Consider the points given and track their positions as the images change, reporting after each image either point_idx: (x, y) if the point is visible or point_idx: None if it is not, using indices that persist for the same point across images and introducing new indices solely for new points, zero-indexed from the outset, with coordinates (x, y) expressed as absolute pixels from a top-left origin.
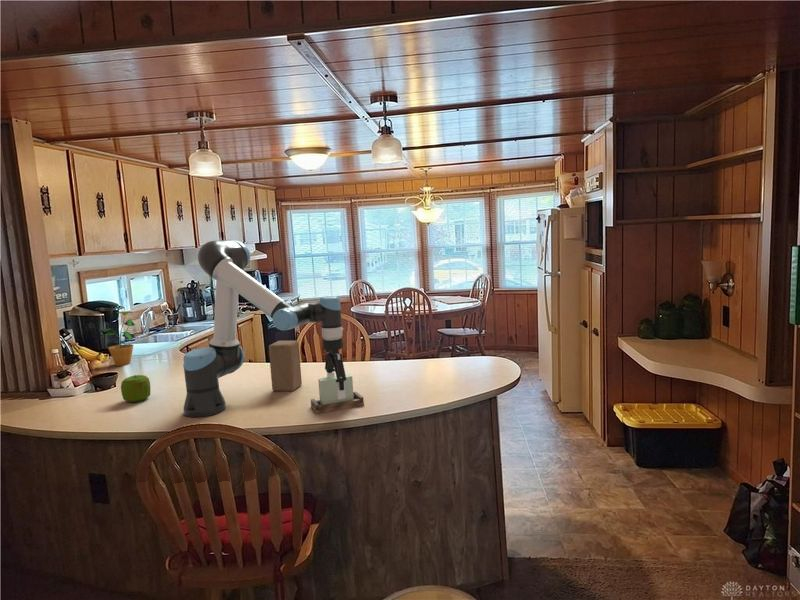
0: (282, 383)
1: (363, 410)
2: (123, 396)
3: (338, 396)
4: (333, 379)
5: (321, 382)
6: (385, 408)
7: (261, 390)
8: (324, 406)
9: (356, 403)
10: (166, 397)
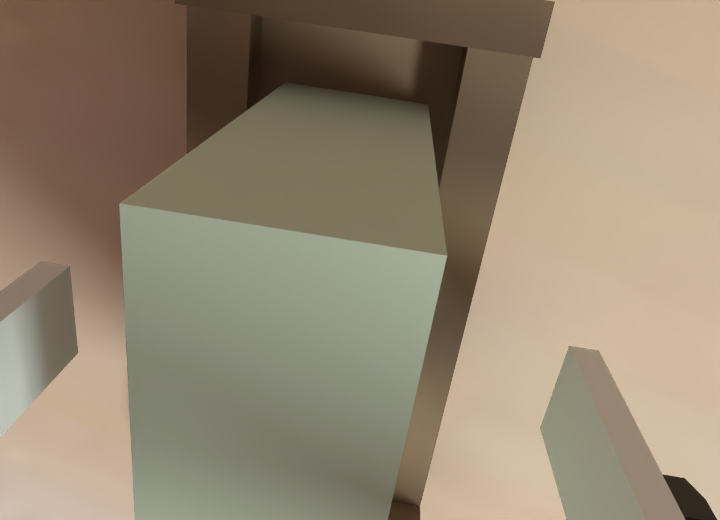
0: None
1: (61, 383)
2: None
3: (16, 283)
4: (133, 481)
5: (138, 203)
6: (29, 511)
7: None
8: (188, 77)
9: None
10: None
